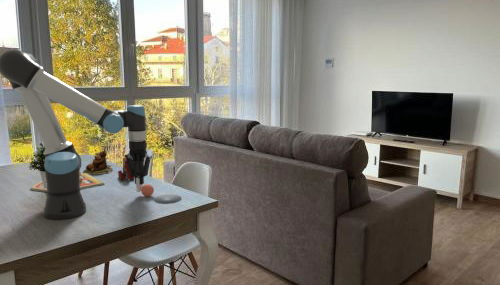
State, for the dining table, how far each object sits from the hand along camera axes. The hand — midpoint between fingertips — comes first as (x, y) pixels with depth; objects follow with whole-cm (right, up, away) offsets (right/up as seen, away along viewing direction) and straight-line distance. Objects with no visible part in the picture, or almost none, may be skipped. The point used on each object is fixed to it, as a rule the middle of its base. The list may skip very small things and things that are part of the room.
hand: (139, 190), depth 172 cm
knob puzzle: (-42, +1, +15) cm, 44 cm away
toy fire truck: (-15, +3, +27) cm, 31 cm away
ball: (+4, 0, -1) cm, 4 cm away
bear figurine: (-35, +5, +40) cm, 54 cm away
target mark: (+14, -3, -4) cm, 15 cm away
